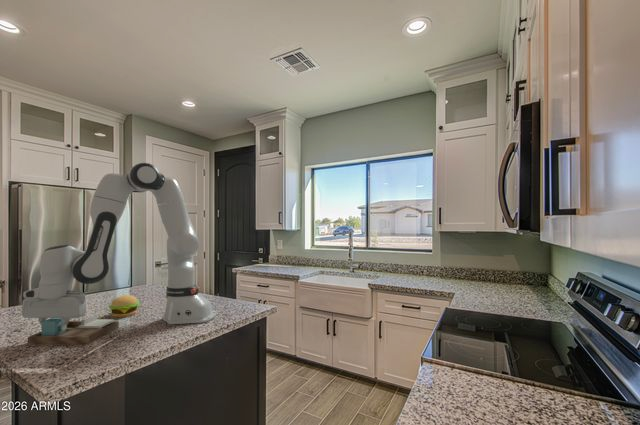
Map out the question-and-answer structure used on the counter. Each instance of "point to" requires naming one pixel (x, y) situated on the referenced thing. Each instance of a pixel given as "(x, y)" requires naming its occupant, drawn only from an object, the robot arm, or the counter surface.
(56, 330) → the block
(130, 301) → the hamburger
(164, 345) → the counter surface
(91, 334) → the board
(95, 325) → the cover
